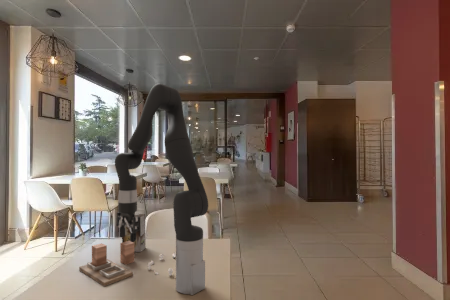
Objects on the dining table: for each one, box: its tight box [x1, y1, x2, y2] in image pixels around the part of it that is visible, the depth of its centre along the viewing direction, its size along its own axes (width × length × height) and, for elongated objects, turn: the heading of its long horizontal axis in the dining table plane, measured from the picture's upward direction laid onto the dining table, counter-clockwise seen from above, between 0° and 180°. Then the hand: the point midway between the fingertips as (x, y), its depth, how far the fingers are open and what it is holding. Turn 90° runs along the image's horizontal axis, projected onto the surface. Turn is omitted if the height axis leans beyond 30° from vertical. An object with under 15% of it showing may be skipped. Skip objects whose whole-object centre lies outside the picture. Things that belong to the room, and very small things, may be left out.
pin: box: [119, 241, 135, 265], centre depth 120 cm, size 4×4×8 cm
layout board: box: [78, 243, 134, 287], centre depth 110 cm, size 20×11×9 cm, turn 49°
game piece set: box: [147, 251, 176, 277], centre depth 117 cm, size 19×20×4 cm
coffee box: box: [121, 213, 147, 253], centre depth 135 cm, size 9×6×16 cm
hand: (127, 239), depth 120 cm, fingers open, 8 cm apart
